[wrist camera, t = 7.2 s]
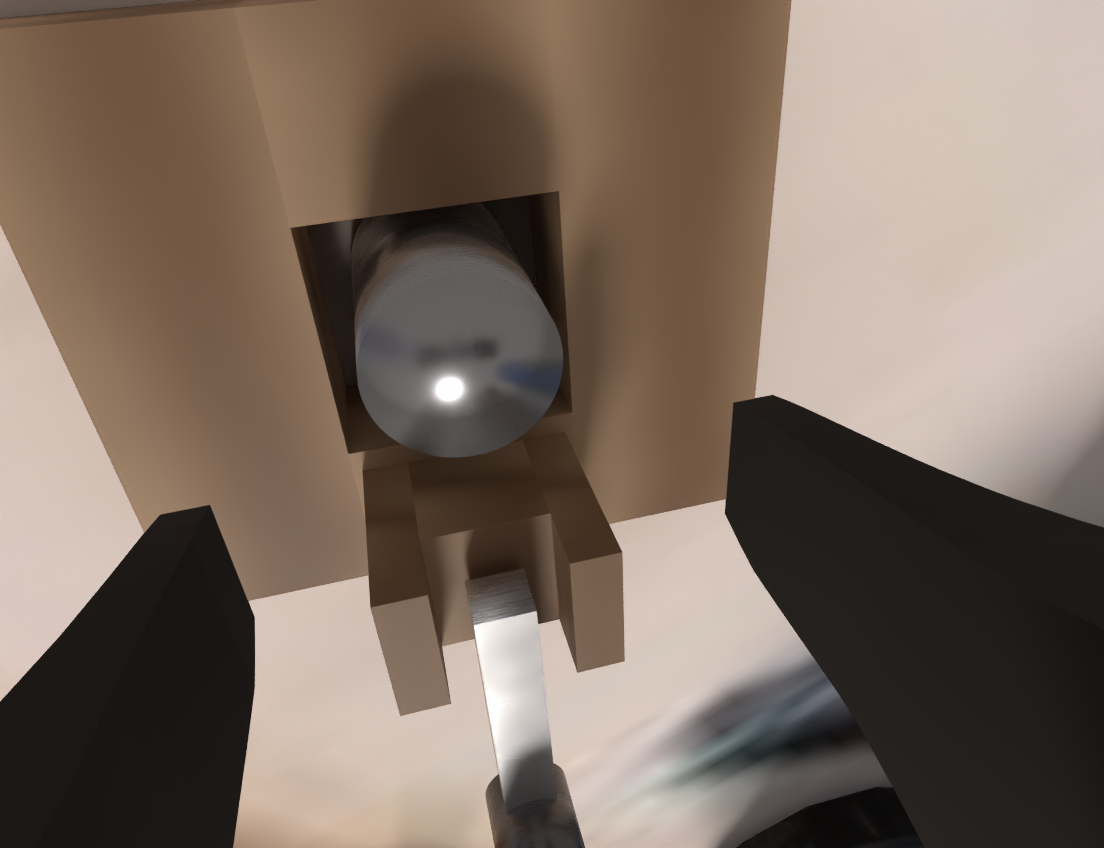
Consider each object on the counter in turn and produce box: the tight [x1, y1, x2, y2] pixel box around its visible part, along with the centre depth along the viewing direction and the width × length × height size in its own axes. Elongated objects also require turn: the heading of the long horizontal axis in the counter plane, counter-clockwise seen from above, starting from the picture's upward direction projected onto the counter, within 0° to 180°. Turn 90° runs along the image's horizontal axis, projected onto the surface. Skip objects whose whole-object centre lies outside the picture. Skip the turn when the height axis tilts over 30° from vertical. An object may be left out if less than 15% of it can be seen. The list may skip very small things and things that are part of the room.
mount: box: [0, 0, 791, 716], centre depth 15 cm, size 14×12×7 cm
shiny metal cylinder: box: [351, 202, 563, 458], centre depth 16 cm, size 4×4×6 cm
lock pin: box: [464, 568, 585, 848], centre depth 16 cm, size 2×8×3 cm, turn 3°
